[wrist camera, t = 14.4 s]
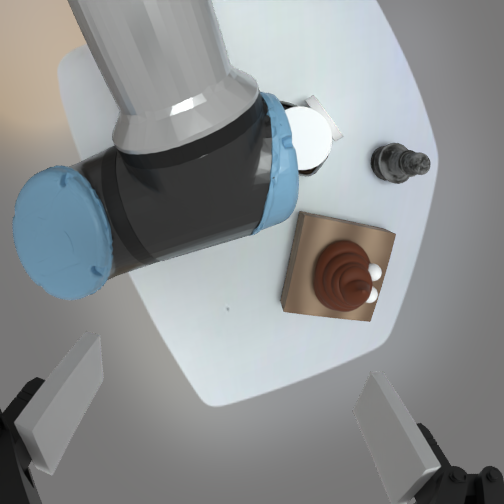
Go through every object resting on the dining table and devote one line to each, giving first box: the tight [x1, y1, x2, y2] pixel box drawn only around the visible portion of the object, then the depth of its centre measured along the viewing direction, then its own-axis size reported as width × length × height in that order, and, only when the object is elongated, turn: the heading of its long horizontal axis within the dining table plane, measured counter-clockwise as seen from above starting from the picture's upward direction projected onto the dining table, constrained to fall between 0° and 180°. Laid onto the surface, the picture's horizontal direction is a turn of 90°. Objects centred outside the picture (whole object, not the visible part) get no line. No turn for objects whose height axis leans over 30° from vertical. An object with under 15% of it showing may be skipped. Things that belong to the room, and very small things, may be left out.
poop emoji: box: [314, 241, 382, 312], centre depth 38 cm, size 10×8×9 cm
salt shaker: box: [371, 143, 430, 184], centre depth 37 cm, size 6×6×12 cm
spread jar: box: [280, 95, 343, 176], centre depth 36 cm, size 12×11×12 cm
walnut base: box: [280, 211, 396, 322], centre depth 45 cm, size 14×14×4 cm
